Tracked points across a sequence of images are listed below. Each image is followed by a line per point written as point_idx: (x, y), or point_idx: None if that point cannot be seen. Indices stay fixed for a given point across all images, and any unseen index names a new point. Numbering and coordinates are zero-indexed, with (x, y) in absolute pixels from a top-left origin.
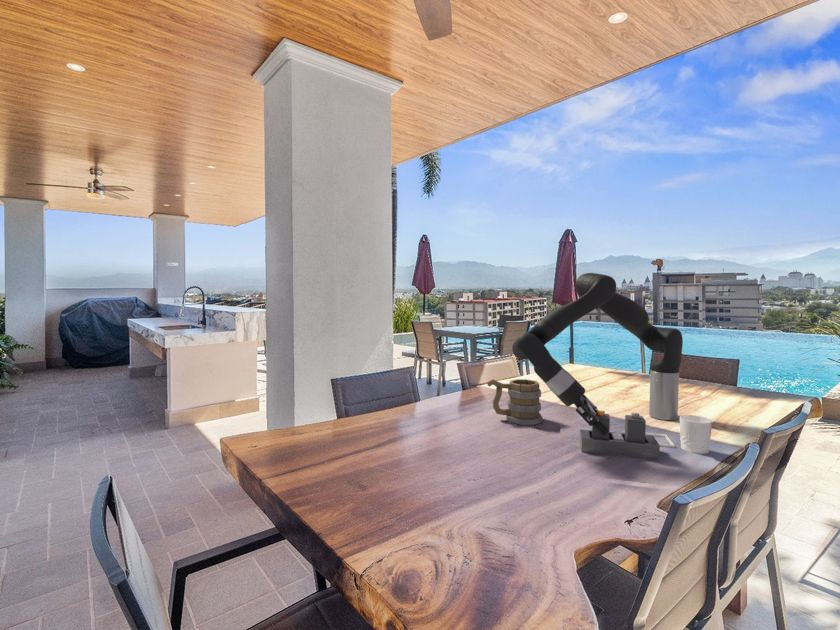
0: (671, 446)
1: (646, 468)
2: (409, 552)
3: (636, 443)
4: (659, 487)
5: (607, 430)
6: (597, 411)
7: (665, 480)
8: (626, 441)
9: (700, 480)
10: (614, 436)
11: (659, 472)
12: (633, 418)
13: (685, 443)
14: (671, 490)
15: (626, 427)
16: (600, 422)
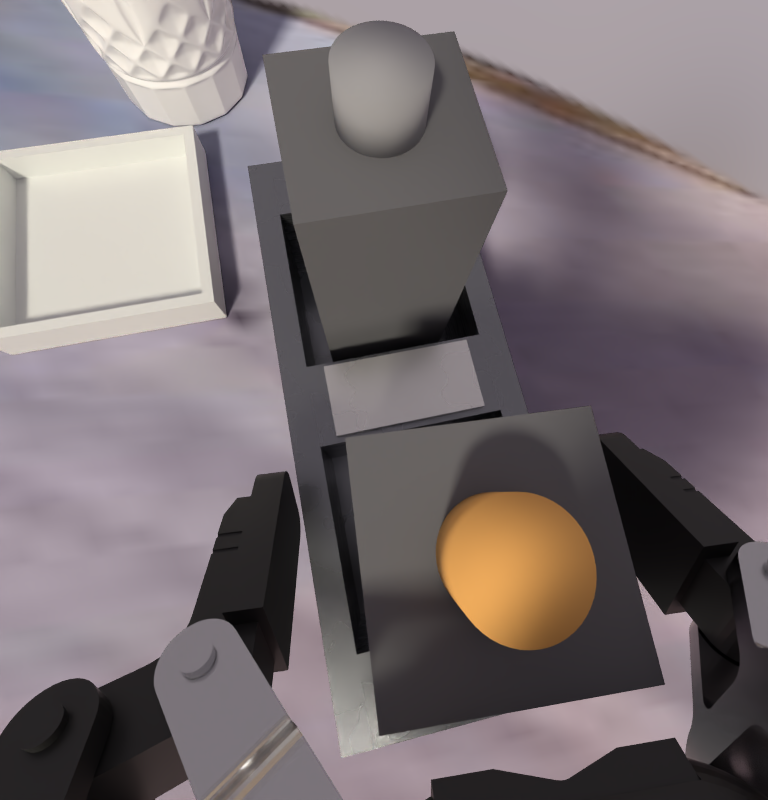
0: (197, 145)
1: (531, 273)
2: None
3: (480, 261)
4: (718, 228)
5: (623, 443)
6: (557, 639)
7: (626, 205)
8: (479, 322)
9: (540, 94)
10: (431, 408)
11: (547, 224)
12: (420, 137)
13: (207, 56)
14: (716, 190)
15: (401, 281)
16: (716, 525)
